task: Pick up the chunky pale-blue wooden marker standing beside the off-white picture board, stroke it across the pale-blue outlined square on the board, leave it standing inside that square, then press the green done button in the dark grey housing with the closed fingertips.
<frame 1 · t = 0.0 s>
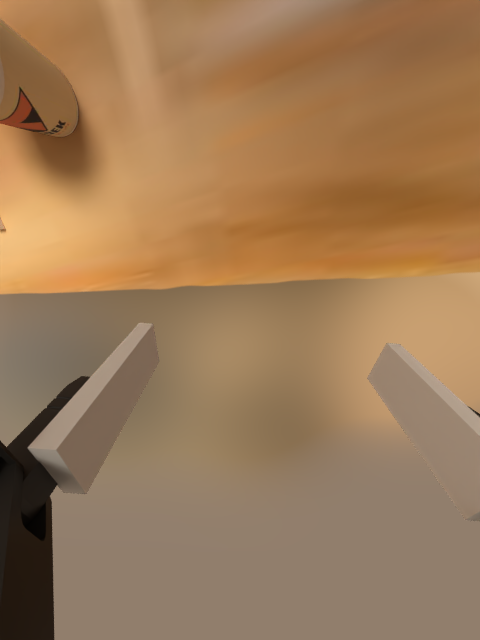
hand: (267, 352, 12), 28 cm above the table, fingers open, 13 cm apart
coffee cup: (49, 100, 27), on the table
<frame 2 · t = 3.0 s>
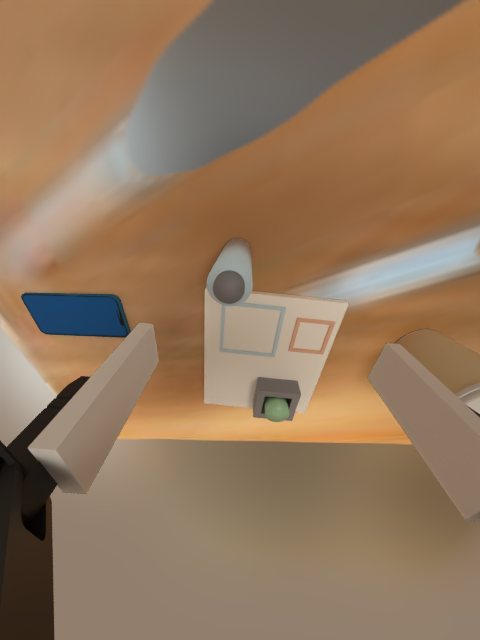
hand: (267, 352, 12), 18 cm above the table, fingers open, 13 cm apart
smartphone: (81, 313, 32), on the table
coffee cup: (415, 347, 33), on the table
board: (263, 358, 35), on the table
done button: (276, 406, 35), point 4 cm above the table, slide at 0.0 cm
marker: (237, 252, 26), on the table
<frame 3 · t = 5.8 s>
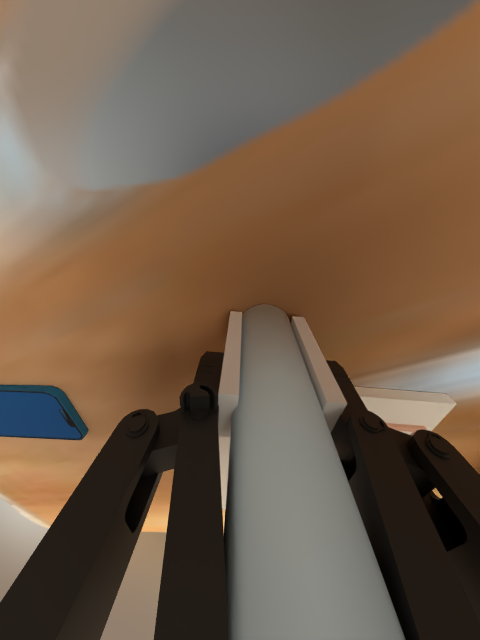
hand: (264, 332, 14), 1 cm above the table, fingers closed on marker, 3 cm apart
smartphone: (8, 405, 20), on the table
board: (296, 459, 23), on the table
marker: (263, 327, 14), on the table, touching gripper
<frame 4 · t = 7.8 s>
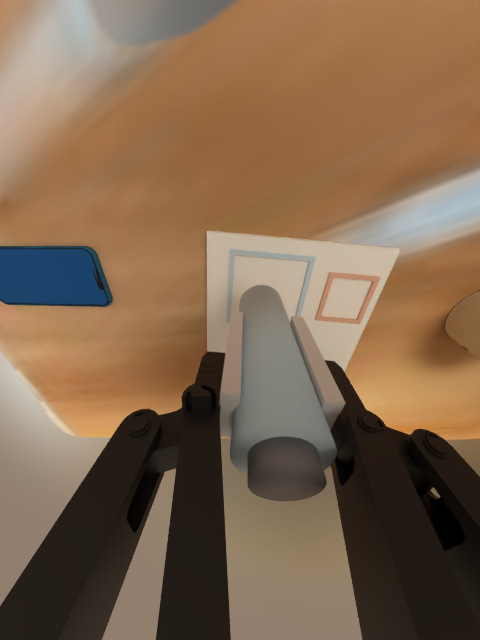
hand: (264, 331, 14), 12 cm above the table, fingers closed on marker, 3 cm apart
smartphone: (49, 275, 25), on the table
coffee cup: (478, 314, 26), on the table
board: (281, 332, 28), on the table
marker: (260, 304, 17), point 8 cm above the table, touching gripper
when the fingers open (2 cm above the table, at t = 10.3 s): marker stays where it is, resting on board.
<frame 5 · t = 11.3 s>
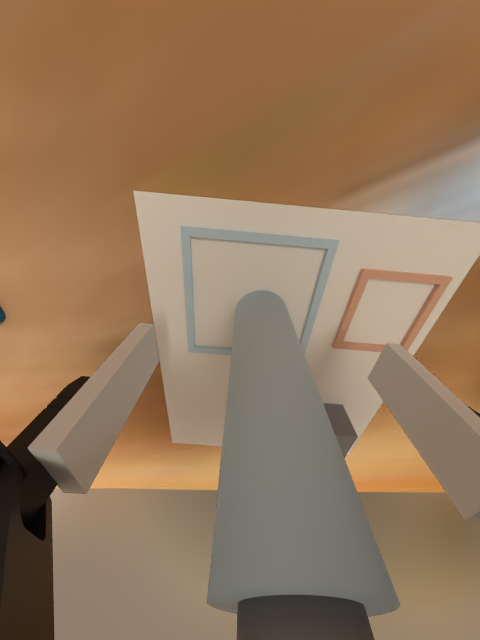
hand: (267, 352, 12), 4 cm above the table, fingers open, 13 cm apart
board: (278, 363, 18), on the table
marker: (260, 314, 14), point 1 cm above the table, touching board
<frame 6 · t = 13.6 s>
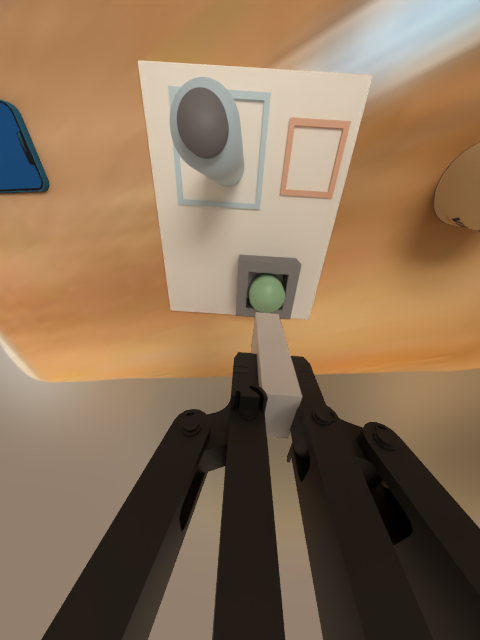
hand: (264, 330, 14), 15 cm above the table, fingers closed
coffee cup: (472, 185, 22), on the table
board: (245, 222, 24), on the table
done button: (266, 292, 24), point 4 cm above the table, slide at 0.0 cm
marker: (226, 165, 21), point 1 cm above the table, touching board
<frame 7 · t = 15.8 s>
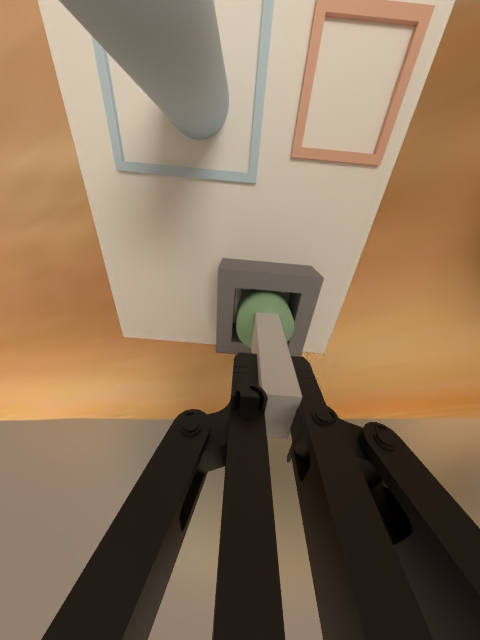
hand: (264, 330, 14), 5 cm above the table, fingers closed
board: (232, 207, 15), on the table
done button: (263, 318, 15), point 4 cm above the table, slide at 0.3 cm, touching gripper
marker: (197, 98, 11), point 1 cm above the table, touching board
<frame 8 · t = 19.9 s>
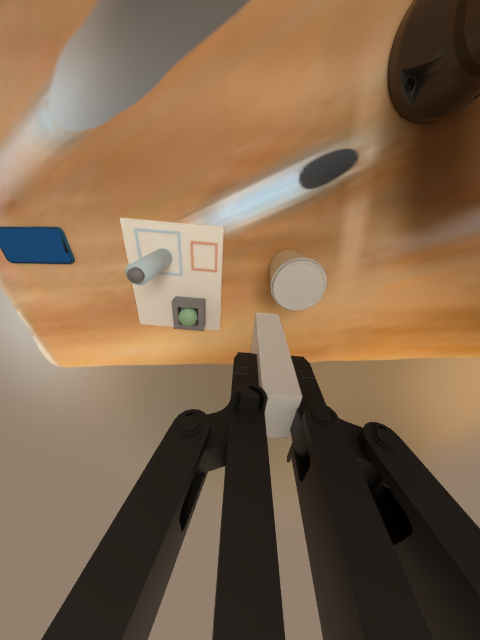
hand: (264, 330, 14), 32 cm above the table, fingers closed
smartphone: (37, 245, 44), on the table
coffee cup: (286, 267, 44), on the table
board: (177, 280, 46), on the table
done button: (188, 315, 47), point 3 cm above the table, slide at 0.7 cm
marker: (163, 257, 43), point 1 cm above the table, touching board
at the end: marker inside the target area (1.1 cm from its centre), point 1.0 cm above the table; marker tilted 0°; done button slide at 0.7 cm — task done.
